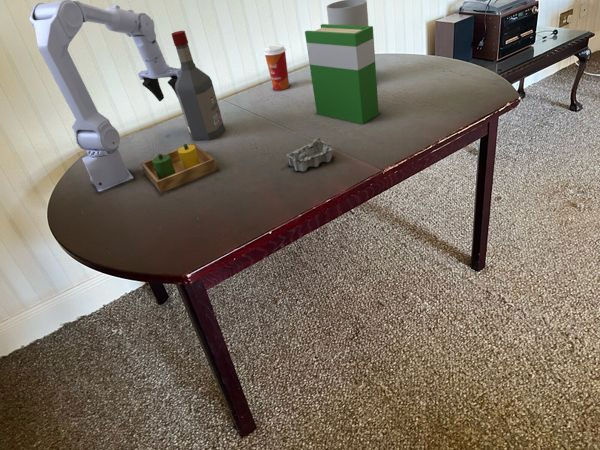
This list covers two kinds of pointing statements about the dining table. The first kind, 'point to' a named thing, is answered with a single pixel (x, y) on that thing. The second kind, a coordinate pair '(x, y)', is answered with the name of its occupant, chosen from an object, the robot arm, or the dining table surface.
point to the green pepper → (163, 166)
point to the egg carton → (310, 155)
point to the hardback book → (343, 71)
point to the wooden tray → (180, 170)
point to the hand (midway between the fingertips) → (171, 99)
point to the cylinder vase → (348, 13)
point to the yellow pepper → (188, 156)
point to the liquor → (196, 95)
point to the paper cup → (277, 66)
